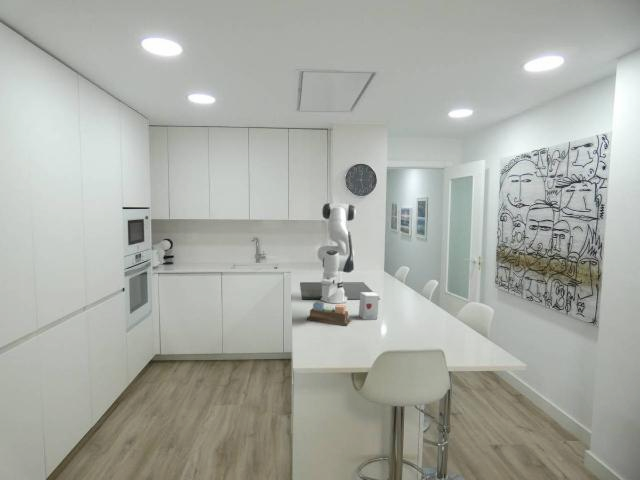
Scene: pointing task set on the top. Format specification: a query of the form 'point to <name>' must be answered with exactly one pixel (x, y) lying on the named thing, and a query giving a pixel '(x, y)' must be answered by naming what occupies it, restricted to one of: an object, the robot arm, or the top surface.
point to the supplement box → (368, 305)
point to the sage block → (329, 309)
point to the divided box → (329, 317)
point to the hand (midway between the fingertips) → (329, 302)
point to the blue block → (318, 306)
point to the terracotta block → (340, 309)
